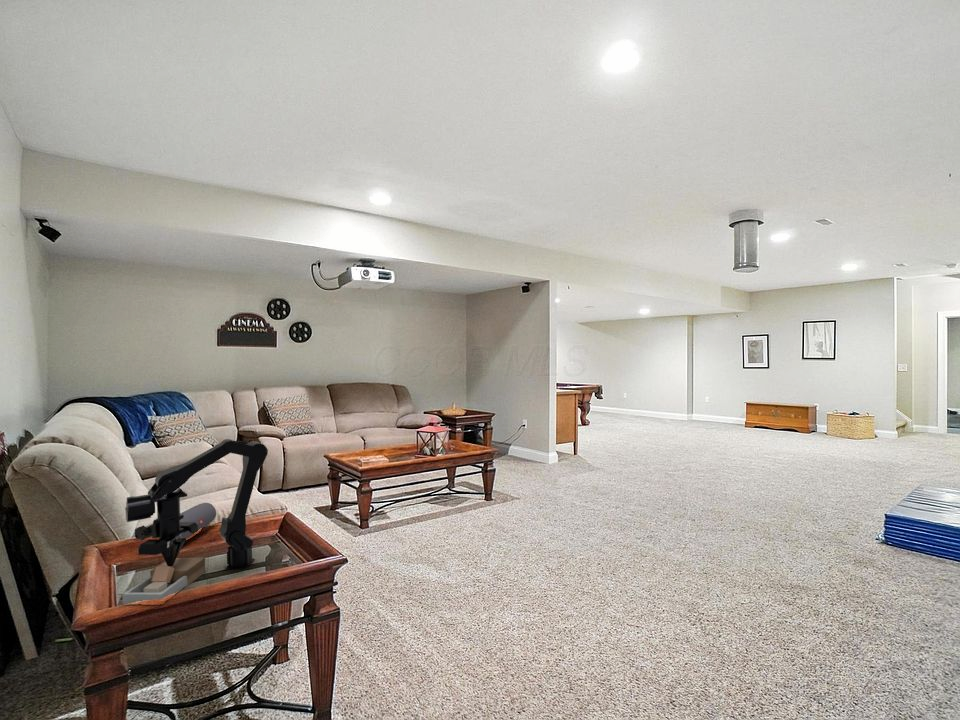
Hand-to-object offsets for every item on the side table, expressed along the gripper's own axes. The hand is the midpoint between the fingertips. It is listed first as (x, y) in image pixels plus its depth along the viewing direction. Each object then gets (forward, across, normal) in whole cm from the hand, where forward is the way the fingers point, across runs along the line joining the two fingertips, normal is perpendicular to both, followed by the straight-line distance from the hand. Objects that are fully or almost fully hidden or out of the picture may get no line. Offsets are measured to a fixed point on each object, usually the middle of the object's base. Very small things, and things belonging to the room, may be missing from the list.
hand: (170, 566), depth 148 cm
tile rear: (+2, +2, 0) cm, 3 cm away
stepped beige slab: (+5, -4, 0) cm, 6 cm away
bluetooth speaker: (+6, -37, -18) cm, 41 cm away
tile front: (+2, +7, 0) cm, 7 cm away
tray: (+5, +6, 0) cm, 8 cm away
